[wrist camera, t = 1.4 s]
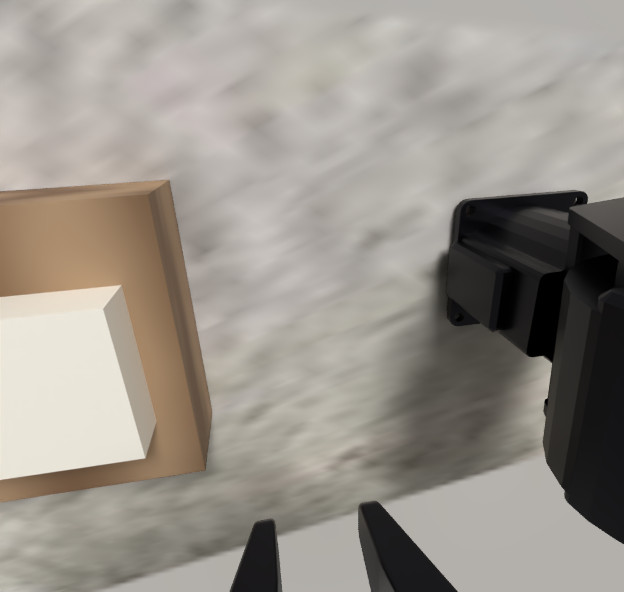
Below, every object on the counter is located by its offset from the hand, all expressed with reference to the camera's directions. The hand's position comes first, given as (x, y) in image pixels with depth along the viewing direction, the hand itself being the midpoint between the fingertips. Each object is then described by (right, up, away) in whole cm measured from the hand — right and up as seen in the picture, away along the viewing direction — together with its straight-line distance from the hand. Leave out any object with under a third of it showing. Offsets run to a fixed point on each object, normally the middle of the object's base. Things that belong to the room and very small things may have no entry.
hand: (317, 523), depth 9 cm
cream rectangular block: (-11, +2, +6) cm, 13 cm away
